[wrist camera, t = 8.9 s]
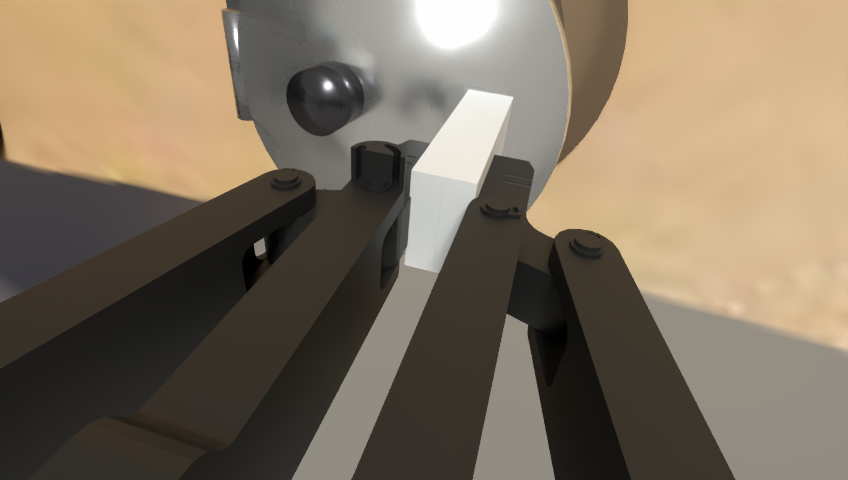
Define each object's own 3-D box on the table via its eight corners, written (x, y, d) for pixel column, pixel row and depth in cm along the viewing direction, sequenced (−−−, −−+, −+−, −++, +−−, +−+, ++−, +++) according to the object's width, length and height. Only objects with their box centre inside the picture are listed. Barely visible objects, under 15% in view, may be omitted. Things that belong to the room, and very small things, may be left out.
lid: (259, 196, 24) (225, 218, 22) (214, -136, 16) (154, -145, 15) (525, 284, 20) (510, 320, 18) (631, -101, 12) (625, -108, 11)
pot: (303, 164, 34) (233, 225, 27) (278, -191, 23) (146, -242, 16) (570, 219, 30) (568, 305, 23) (691, -163, 19) (754, -212, 12)
